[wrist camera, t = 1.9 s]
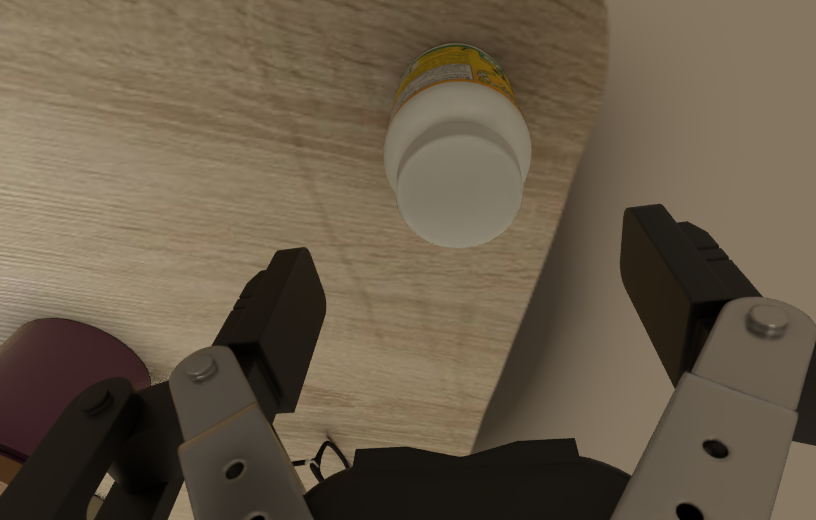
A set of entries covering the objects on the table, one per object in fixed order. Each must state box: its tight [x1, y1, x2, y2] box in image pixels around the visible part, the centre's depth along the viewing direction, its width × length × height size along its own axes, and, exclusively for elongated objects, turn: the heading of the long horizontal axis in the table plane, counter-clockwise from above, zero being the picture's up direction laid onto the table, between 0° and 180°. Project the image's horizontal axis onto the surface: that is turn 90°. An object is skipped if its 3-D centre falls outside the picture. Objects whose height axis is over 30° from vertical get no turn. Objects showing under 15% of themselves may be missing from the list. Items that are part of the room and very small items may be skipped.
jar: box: [0, 319, 151, 496], centre depth 31 cm, size 11×11×11 cm
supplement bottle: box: [383, 43, 532, 248], centre depth 19 cm, size 5×5×10 cm
